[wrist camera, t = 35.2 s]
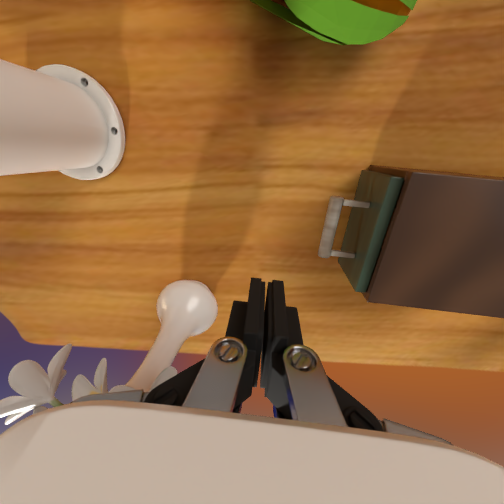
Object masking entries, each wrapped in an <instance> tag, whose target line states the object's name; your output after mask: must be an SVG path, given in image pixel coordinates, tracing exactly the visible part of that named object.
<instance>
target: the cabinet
mask: <svg viewBox="0 0 504 504" xmlns="http://www.w3.org/2000/svg"><path fill="white" fill-rule="evenodd" d="M369 171H375V172H379V173H384V174H389V175H393V176H398V177H403V178H404V180H405V182H404V185H403V188H402V191H401V194H400V197H399V200H398V203H397V206H396V209H395V212H394V215H393V218H392V221H391V223H390V226H389V229H388V232H387V235H386V238H385V241H384V244H383V247H382V250H381V253H380V256H379V259H378V262H377V265H376V268H375V270H374V273H373V276H372V278H370V281H369V284H368V287H367V290H366V293H364V292H362V294H363V296H364V297H365V299H366V300H367V302H372V303H381V304H389V305H398V306H406V307H414V308H423V309H431V310H440V311H448V312H457V313H465V314H473V315H482V316H490V317H499V318H504V177H494V176H483V175H472V174H461V173H451V172H440V171H429V170H418V169H407V168H396V167H386V166H375V165H370V169H369Z"/></svg>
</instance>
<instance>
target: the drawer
mask: <svg viewBox="0 0 504 504" xmlns="http://www.w3.org/2000/svg"><path fill="white" fill-rule="evenodd" d="M404 182H405V180H404V178H403V177H398V176H393V175H389V174H384V173H379V172H375V171H368V170H362V171H361V175H360V179H359V183H358V186H357V190H356V194H355V198H354V200H349V199H344V198H343V197H340V196H330V200H329V205H328V209H327V214H326V218H325V223H324V228H323V232H322V237H321V241H320V246H319V250H318V256H320V257H323V258H329V257H330V256H338V257H339V259H338V262H339V264H340V266H341V267H342V269H343V271H344V273H345V274H346V276H347V278H348V280H349V281H350V283H351V285H352V287H353V288H354V290H355V291H356V292H364V293H366V290H367V287H368V284H369V281H370V278H372V276H373V273H374V270H375V268H376V265H377V262H378V259H379V256H380V253H381V250H382V248H381V246H382V243H383V240H384V237H385V234H386V231H387V228H388V225H389V222H390V219H391V216H392V213H393V210H394V208H396V206H397V203H398V200H399V197H400V194H401V191H402V188H403V185H404ZM342 205H344V206H352V209H351V213H350V217H349V221H348V225H347V228H346V232H345V236H344V240H343V244H342V247H341V251H340V250H331V249H332V245H333V241H334V237H335V233H336V229H337V224H338V220H339V216H340V212H341V208H342Z"/></svg>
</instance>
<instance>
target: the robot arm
mask: <svg viewBox="0 0 504 504" xmlns="http://www.w3.org/2000/svg"><path fill="white" fill-rule="evenodd" d="M117 131H118V133H117ZM124 149H125V131H124V126H123V122H122V118H121V116H120V113H119V111H118V108H117V106H116V105H115V103H114V101H113V99H112V98H111V96H110V95H109V94H108V93H107V91H106V90H105V89H104V88H103V87H102V86H101V85H100V84H99V83H98V82H97V81H96V80H95V79H93V78H92V77H90V76H89V75H87V74H86V73H84V72H82V71H80V70H77V69H75V68H72V67H69V66H66V65H59V64H52V65H46V66H43V67H41V68H39V69H37V70H36V71H34V70H31V69H28V68H25V67H22V66H19V65H16V64H13V63H10V62H7V61H4V60H1V59H0V176H2V175H13V174H23V173H34V172H45V171H55V170H58V171H60V172H62V173H63V174H65V175H68V176H70V177H73V178H76V179H81V180H93V179H99V178H102V177H104V176H107V175H108V174H110V173H111V172H113V171H114V170H115V168H116V167H117V166H118V165H119V163H120V161H121V159H122V156H123V153H124ZM264 306H265V311H264ZM261 350H262V354H261ZM260 358H261V380H260V387H261V388H265V397H267V398H268V399H269V400H270V401H271V402H272V403H273V412H274V418H273V417H264V416H256V415H248V414H240V412H241V408H242V402H243V401H245V400H246V399H247V398H248V397H250V396H251V393H252V387H257V380H258V372H259V365H260ZM0 504H504V467H503V466H502V465H500V464H497V463H495V462H493V461H491V460H489V459H487V458H485V457H483V456H481V455H478V454H476V453H474V452H471V451H468V450H465V449H462V448H460V447H457V446H454V445H452V444H451V443H450V442H448V441H446V440H444V439H442V438H439V437H436V436H434V435H431V434H428V433H425V432H422V431H419V430H416V429H413V428H410V427H407V426H405V425H401V424H399V423H396V422H393V421H390V420H387V419H383V421H380V420H378V419H377V418H376V417H375V416H374V415H373V414H372V413H371V412H370V411H369V410H368V409H367V408H365V407H364V406H363V405H362V404H361V403H360V402H358V401H357V400H356V399H355V398H353V397H352V396H351V395H350V394H349V393H347V392H346V391H345V390H344V389H342V388H341V387H340V386H339V385H337V384H336V383H335V382H334V381H333V380H332V379H330V378H329V377H328V376H327V375H326V373H325V370H324V368H323V366H322V363H321V361H320V358H319V357H318V355H317V354H316V353H315V352H314V351H313V350H312V349H310V348H309V347H307V346H304V345H303V340H302V334H301V329H300V323H299V317H298V311H297V308H296V307H287V306H286V304H285V294H284V284H283V281H278V280H272V283H271V282H268V288H267V296H266V303H265V282H262V281H261V279H259V278H251V283H250V290H249V298H248V302H242V301H234V302H233V306H232V310H231V314H230V318H229V323H228V327H227V331H226V336H225V337H223V338H220V339H218V340H217V341H215V342H214V344H213V345H212V346H211V348H210V350H209V352H208V354H207V357H206V358H205V359H203V360H201V361H200V362H198V363H196V364H195V365H193V366H191V367H189V368H188V369H186V370H184V371H182V372H180V373H179V374H177V375H175V376H174V377H172V378H170V379H168V380H167V381H165V382H163V383H161V384H160V385H158V386H156V387H155V388H154V389H152V390H151V391H150V392H144V390H143V389H139V390H130V391H120V392H111V393H101V394H92V395H86V396H82V397H80V398H78V399H76V400H74V401H72V402H71V403H70V404H65V405H61V406H57V407H54V408H50V409H47V410H44V411H41V412H38V413H36V414H33V415H31V416H29V417H27V418H25V419H23V420H21V421H19V422H17V423H16V424H14V425H13V426H11V427H10V428H8V429H7V430H6V431H5V432H3V433H2V434H1V435H0Z"/></svg>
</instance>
